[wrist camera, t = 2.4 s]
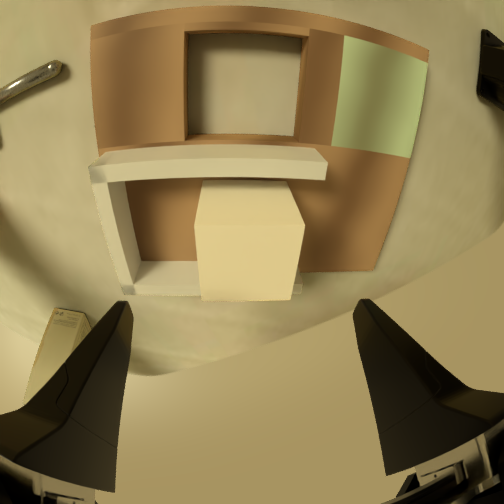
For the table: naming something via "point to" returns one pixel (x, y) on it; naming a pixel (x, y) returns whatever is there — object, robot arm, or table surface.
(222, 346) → the table surface
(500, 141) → the table surface
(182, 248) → the board
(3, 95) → the allen wrench
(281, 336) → the table surface
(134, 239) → the cubby
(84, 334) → the skincare box
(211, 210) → the cube
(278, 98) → the table surface
